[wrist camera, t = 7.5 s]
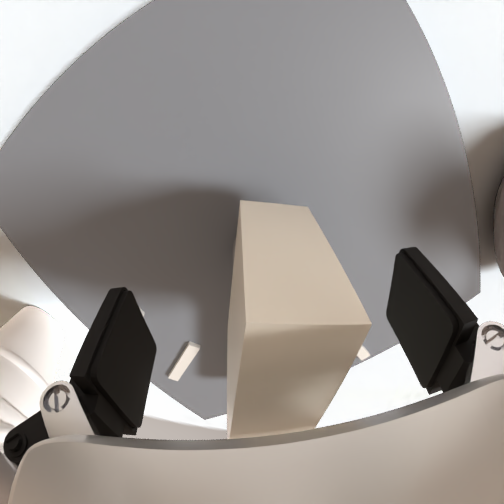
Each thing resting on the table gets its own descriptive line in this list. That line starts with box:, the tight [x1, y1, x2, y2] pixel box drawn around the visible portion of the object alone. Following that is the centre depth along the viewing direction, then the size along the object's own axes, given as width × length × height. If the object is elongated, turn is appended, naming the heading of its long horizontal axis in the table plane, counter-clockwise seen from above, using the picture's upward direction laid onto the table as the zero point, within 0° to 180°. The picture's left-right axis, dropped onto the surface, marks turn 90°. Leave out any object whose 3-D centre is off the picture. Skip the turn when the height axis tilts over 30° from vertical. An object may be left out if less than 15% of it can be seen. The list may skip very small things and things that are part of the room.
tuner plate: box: [0, 0, 480, 420], centre depth 14 cm, size 24×24×2 cm
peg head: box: [227, 200, 372, 439], centre depth 12 cm, size 13×2×8 cm, turn 173°
